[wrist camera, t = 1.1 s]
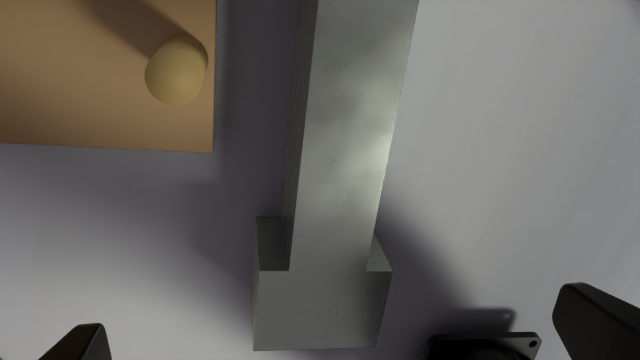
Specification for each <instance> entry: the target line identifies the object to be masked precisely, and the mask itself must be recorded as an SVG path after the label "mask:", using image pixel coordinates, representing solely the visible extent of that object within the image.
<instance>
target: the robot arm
mask: <svg viewBox="0 0 640 360" xmlns="http://www.w3.org/2000/svg"><path fill="white" fill-rule="evenodd" d="M552 320H553V324H554V327H555V329H556V331H557V333H558V335H559V336H560V338H561V340H562V342H563V344H564V346H565V348H566V350H567V352H568V354H569V356H570V357H571V359H572V360H640V308H638V307H636V306H634V305H631V304H629V303H627V302H625V301H623V300H621V299H619V298H616V297H614V296H612V295H610V294H608V293H606V292H604V291H601V290H599V289H597V288H595V287H593V286H591V285H589V284H586V283H582V282H579V283H567V284H564V285H563V286H562V287H561V289H560V292H559V295H558V298H557V301H556V304H555V307H554V310H553V314H552ZM541 342H542V341H541V338H540V337H539V336H538V335H537V333H535V332H505V333H471V334H438V335H434V336H432V337H431V338H430V339H429V340H428V342H427V346H426V349H425V352H424V356H423V359H422V360H534V359H535V357H536V355H537V352H538V350H539V348H540V345H541ZM38 360H112V357H111V352H110V348H109V344H108V339H107V335H106V331H105V328H104V326H103V325H102V324H101V323H91V324H81V325H77V326H76V327H74V328H73V329H72V330H71V331H70V332H69V333H67V334H66V335H65V336H64V337H63V338H62V339H61V340H60V341H58V342H57V343H56V344H55V345H54V346H53V347H52V348H51V349H49V350H48V351H47V352H46V353H45V354H44V355H43V356H42V357H41V358H39V359H38Z"/></svg>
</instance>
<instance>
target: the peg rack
mask: <svg viewBox="0 0 640 360" xmlns="http://www.w3.org/2000/svg"><path fill="white" fill-rule="evenodd" d="M216 24H217V0H0V143H16V144H37V145H57V146H78V147H99V148H120V149H140V150H161V151H182V152H202V153H213V146H214V120H215V72H216Z"/></svg>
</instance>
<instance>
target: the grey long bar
mask: <svg viewBox="0 0 640 360" xmlns="http://www.w3.org/2000/svg"><path fill="white" fill-rule="evenodd" d="M418 3H419V0H301V5H300V15H299V26H298V36H297V47H296V58H295V68H294V79H293V90H292V100H291V111H290V122H289V132H288V143H287V154H286V164H285V175H284V186H283V196H282V207H281V217H256V225H255V240H254V254H253V269H252V284H251V296H252V325H253V351H273V350H303V349H333V348H363V347H376V343H377V339H378V334H379V330H380V325H381V321H382V317H383V312H384V308H385V303H386V299H387V295H388V290H389V286H390V281H391V277H392V273H393V271H392V268H391V266H390V264H389V262H388V260H387V258H386V256H385V254H384V252H383V250H382V248H381V246H380V244H379V242H378V240H377V238H376V236H375V233H374V227H375V222H376V217H377V212H378V207H379V202H380V197H381V192H382V186H383V181H384V176H385V171H386V166H387V161H388V156H389V151H390V146H391V141H392V136H393V130H394V125H395V120H396V115H397V110H398V105H399V100H400V95H401V90H402V85H403V80H404V74H405V69H406V64H407V59H408V54H409V49H410V44H411V39H412V34H413V29H414V24H415V18H416V13H417V8H418Z"/></svg>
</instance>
